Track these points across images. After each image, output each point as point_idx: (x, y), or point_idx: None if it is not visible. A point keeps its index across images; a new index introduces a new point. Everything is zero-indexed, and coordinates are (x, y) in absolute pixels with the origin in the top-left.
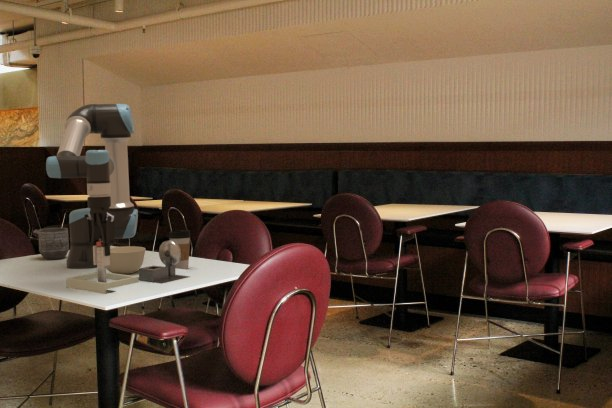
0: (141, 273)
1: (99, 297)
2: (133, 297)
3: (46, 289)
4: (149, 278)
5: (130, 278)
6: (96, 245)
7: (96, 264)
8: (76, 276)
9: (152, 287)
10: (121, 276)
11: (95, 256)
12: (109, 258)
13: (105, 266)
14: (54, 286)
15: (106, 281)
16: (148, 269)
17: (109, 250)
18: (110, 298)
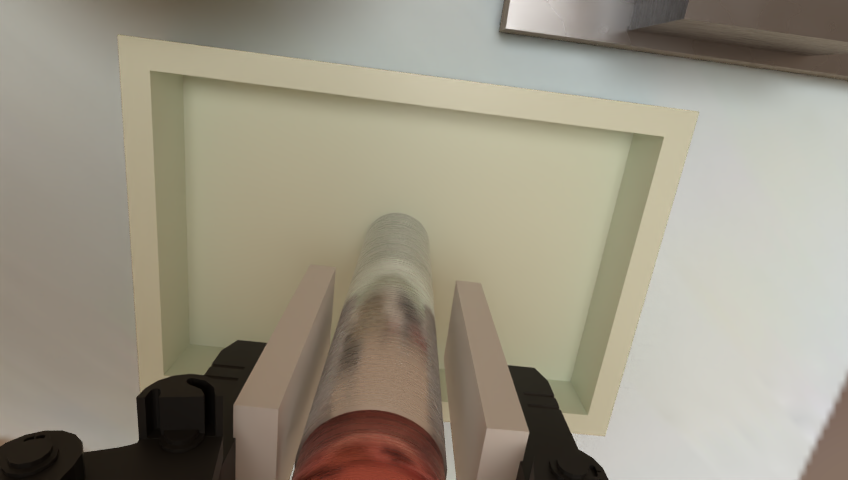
0: (697, 30)
1: (609, 466)
2: (814, 396)
3: (110, 436)
4: (779, 47)
5: (671, 205)
6: (249, 473)
7: (329, 332)
8: (155, 319)
9: (790, 96)
10: (488, 113)
11: (312, 397)
12: (492, 321)
13: (432, 296)
14: (59, 354)
15: (424, 234)
16: (832, 27)
17: (560, 427)
18: (690, 461)
